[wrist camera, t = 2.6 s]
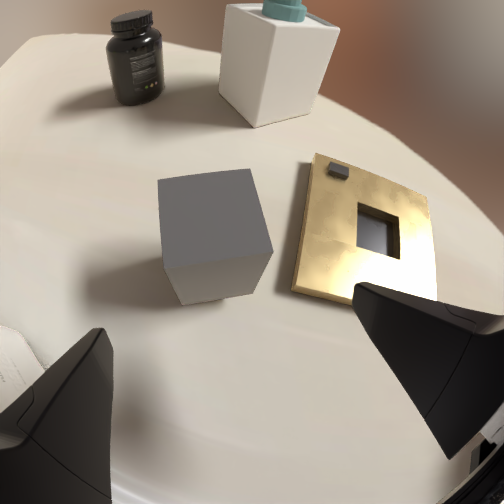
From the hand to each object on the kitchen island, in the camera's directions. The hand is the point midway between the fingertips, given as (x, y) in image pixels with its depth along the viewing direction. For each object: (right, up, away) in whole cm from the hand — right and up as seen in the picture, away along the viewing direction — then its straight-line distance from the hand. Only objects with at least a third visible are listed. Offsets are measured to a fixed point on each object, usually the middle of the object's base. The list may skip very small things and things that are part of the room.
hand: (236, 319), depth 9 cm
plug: (-3, 0, +12) cm, 12 cm away
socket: (+12, +4, +15) cm, 20 cm away
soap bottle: (+2, +21, +22) cm, 30 cm away
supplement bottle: (-14, +23, +20) cm, 34 cm away
